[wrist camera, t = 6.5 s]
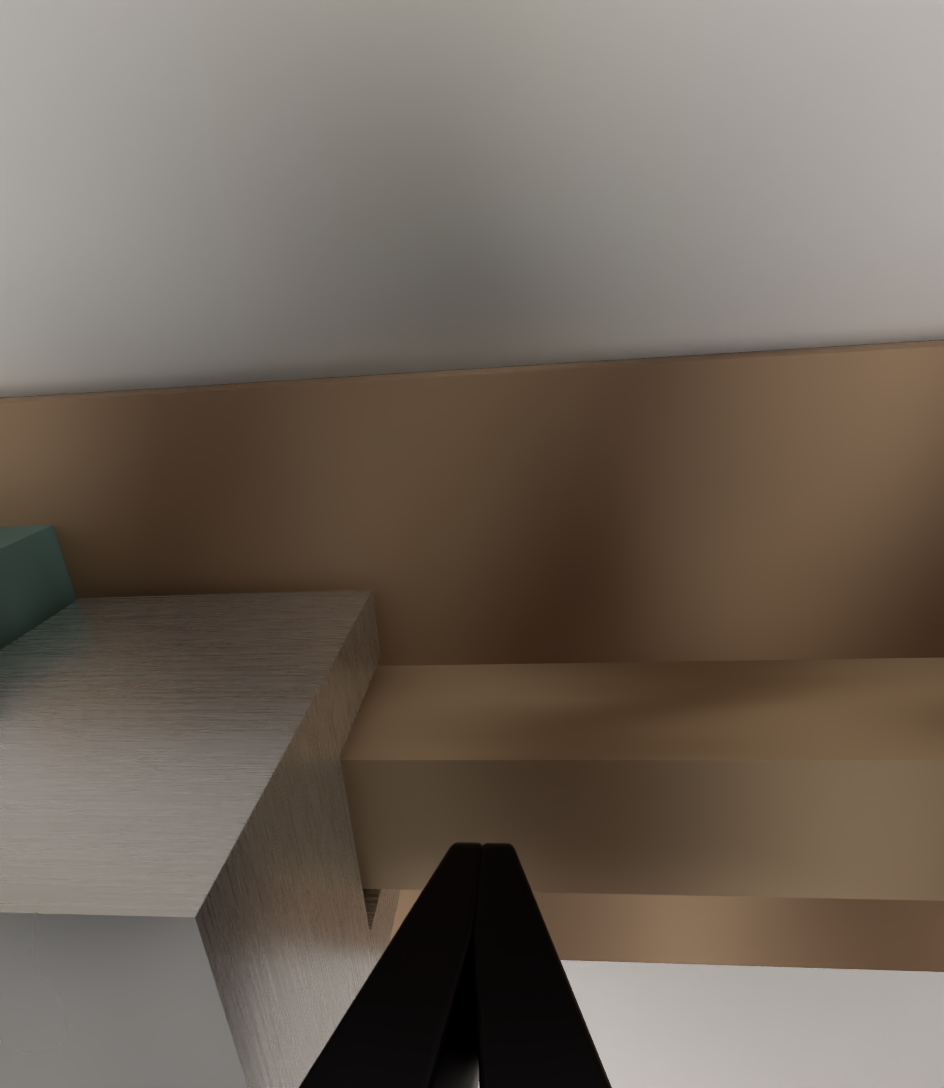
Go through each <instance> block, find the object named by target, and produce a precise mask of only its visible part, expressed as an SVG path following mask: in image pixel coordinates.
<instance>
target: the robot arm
mask: <svg viewBox="0 0 944 1088" xmlns="http://www.w3.org/2000/svg"><path fill="white" fill-rule="evenodd" d="M478 1082H479V1086H480V1088H612V1087H611V1085H610V1082H609V1080H608V1077H607V1075H606V1072H605V1070H604V1067H603V1065H602V1062H601V1060H600V1058H599V1055H598V1053H597V1050H596V1048H595V1045H594V1043H593V1040H592V1038H591V1035H590V1033H589V1030H588V1028H587V1025H586V1023H585V1020H584V1018H583V1015H582V1013H581V1011H580V1008H579V1006H578V1003H577V1001H576V998H575V996H574V993H573V991H572V988H571V986H570V983H569V981H568V978H567V976H566V973H565V971H564V968H563V966H562V964H561V961H560V959H559V956H558V954H557V951H556V949H555V946H554V944H553V941H552V939H551V936H550V934H549V931H548V929H547V926H546V924H545V922H544V919H543V917H542V914H541V912H540V909H539V907H538V904H537V902H536V899H535V897H534V894H533V892H532V889H531V887H530V884H529V882H528V879H527V877H526V875H525V872H524V870H523V867H522V865H521V862H520V860H519V857H518V855H517V852H516V850H515V848H514V846H513V845H512V844H510V843H485V844H483V845H482V844H481V843H474V842H456V843H454V844H452V845H451V846H450V848H449V849H448V851H447V852H446V854H445V855H444V857H443V859H442V860H441V862H440V863H439V865H438V867H437V868H436V870H435V871H434V873H433V874H432V876H431V878H430V879H429V881H428V882H427V884H426V886H425V887H424V889H423V890H422V892H421V894H420V895H419V897H418V898H417V900H416V902H415V903H414V905H413V906H412V908H411V910H410V911H409V913H408V914H407V916H406V917H405V919H404V921H403V922H402V924H401V925H400V927H399V929H398V930H397V932H396V933H395V935H394V937H393V938H392V940H391V941H390V943H389V945H388V946H387V948H386V949H385V951H384V952H383V954H382V956H381V957H380V959H379V960H378V962H377V964H376V965H375V967H374V968H373V970H372V972H371V973H370V975H369V976H368V978H367V980H366V981H365V983H364V984H363V986H362V988H361V989H360V991H359V992H358V994H357V995H356V997H355V999H354V1000H353V1002H352V1003H351V1005H350V1007H349V1008H348V1010H347V1011H346V1013H345V1015H344V1016H343V1018H342V1019H341V1021H340V1023H339V1024H338V1026H337V1027H336V1029H335V1031H334V1032H333V1034H332V1035H331V1037H330V1038H329V1040H328V1042H327V1043H326V1045H325V1046H324V1048H323V1050H322V1051H321V1053H320V1054H319V1056H318V1058H317V1059H316V1061H315V1062H314V1064H313V1066H312V1067H311V1069H310V1070H309V1072H308V1073H307V1075H306V1077H305V1078H304V1080H303V1081H302V1083H301V1085H300V1086H299V1088H478Z"/></svg>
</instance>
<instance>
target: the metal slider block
mask: <svg viewBox="0 0 944 1088" xmlns="http://www.w3.org/2000/svg"><path fill="white" fill-rule="evenodd" d="M380 657H381V649H380V642H379V635H378V627H377V620H376V612H375V605H374V598H373V590H339V591H302V592H266V593H229V594H193V595H156V596H120V597H83V598H80V599H78V600H77V601H75V602H73V603H72V604H70V605H69V606H67V607H66V608H64V609H63V610H61V611H60V612H58V613H57V614H55V615H53V616H52V617H50V618H49V619H47V620H46V621H44V622H43V623H41V624H40V625H38V626H36V627H35V628H33V629H32V630H30V631H29V632H27V633H26V634H24V635H23V636H21V637H20V638H18V639H16V640H15V641H13V642H12V643H10V644H9V645H7V646H6V647H4V648H3V649H1V650H0V1088H299V1086H300V1085H301V1083H302V1081H303V1080H304V1078H305V1077H306V1075H307V1073H308V1072H309V1070H310V1069H311V1067H312V1066H313V1064H314V1062H315V1061H316V1059H317V1058H318V1056H319V1054H320V1053H321V1051H322V1050H323V1048H324V1046H325V1045H326V1043H327V1042H328V1040H329V1038H330V1037H331V1035H332V1034H333V1032H334V1031H335V1029H336V1027H337V1026H338V1024H339V1023H340V1021H341V1019H342V1018H343V1016H344V1015H345V1013H346V1011H347V1010H348V1008H349V1007H350V1005H351V1003H352V1002H353V1000H354V999H355V997H356V995H357V994H358V992H359V991H360V989H361V988H362V986H363V984H364V983H365V981H366V980H367V978H368V976H369V975H370V973H371V972H372V970H373V968H374V967H375V965H376V964H377V962H378V960H379V959H380V957H381V956H382V954H383V952H384V951H385V949H386V948H387V946H388V945H389V943H390V938H391V933H392V928H393V924H394V919H395V914H396V910H397V905H398V900H399V895H400V891H401V890H399V889H362V883H361V877H360V872H359V866H358V860H357V854H356V849H355V843H354V837H353V831H352V826H351V820H350V814H349V808H348V803H347V797H346V791H345V786H344V780H343V774H342V768H341V763H340V757H339V756H340V753H341V751H342V749H343V746H344V744H345V741H346V739H347V737H348V734H349V732H350V729H351V727H352V724H353V722H354V720H355V717H356V715H357V712H358V710H359V707H360V705H361V703H362V700H363V698H364V695H365V693H366V691H367V688H368V686H369V683H370V681H371V678H372V676H373V674H374V671H375V669H376V666H377V664H378V661H379V659H380Z"/></svg>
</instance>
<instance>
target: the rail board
mask: <svg viewBox="0 0 944 1088" xmlns="http://www.w3.org/2000/svg"><path fill="white" fill-rule="evenodd" d="M339 590H373V598H374V605H375V612H376V620H377V627H378V635H379V642H380V649H381V657H380V659H379V661H378V664H377V666H376V669H375V671H374V674H373V676H372V678H371V681H370V683H369V686H368V688H367V691H366V693H365V695H364V698H363V700H362V703H361V705H360V707H359V710H358V712H357V715H356V717H355V720H354V722H353V724H352V727H351V729H350V732H349V734H348V737H347V739H346V741H345V744H344V746H343V749H342V751H341V753H340V756H339V757H340V763H341V768H342V774H343V780H344V786H345V791H346V797H347V803H348V808H349V814H350V820H351V826H352V831H353V837H354V843H355V849H356V854H357V860H358V866H359V872H360V877H361V883H362V889H399V890H401V891H400V895H399V900H398V905H397V910H396V914H395V919H394V924H393V928H392V933H391V938H390V941H391V940H392V938H393V937H394V935H395V933H396V932H397V930H398V929H399V927H400V925H401V924H402V922H403V921H404V919H405V917H406V916H407V914H408V913H409V911H410V910H411V908H412V906H413V905H414V903H415V902H416V900H417V898H418V897H419V895H420V894H421V892H422V890H423V889H424V887H425V886H426V884H427V882H428V881H429V879H430V878H431V876H432V874H433V873H434V871H435V870H436V868H437V867H438V865H439V863H440V862H441V860H442V859H443V857H444V855H445V854H446V852H447V851H448V849H449V848H450V846H451V845H452V844H454V843H456V842H474V843H481V844H482V845H483V844H485V843H510V844H512V845H513V846H514V848H515V850H516V852H517V855H518V857H519V860H520V862H521V865H522V867H523V870H524V872H525V875H526V877H527V879H528V882H529V884H530V887H531V889H532V892H533V894H534V897H535V899H536V902H537V904H538V907H539V909H540V912H541V914H542V917H543V919H544V922H545V924H546V926H547V929H548V931H549V934H550V936H551V939H552V941H553V944H554V946H555V949H556V951H557V954H558V956H559V959H560V960H581V961H613V962H645V963H677V964H709V965H741V966H773V967H805V968H837V969H869V970H901V971H933V972H944V340H935V341H919V342H903V343H886V344H870V345H854V346H838V347H822V348H806V349H789V350H773V351H757V352H741V353H725V354H708V355H692V356H676V357H660V358H644V359H628V360H611V361H595V362H579V363H563V364H547V365H530V366H514V367H498V368H482V369H466V370H450V371H433V372H417V373H401V374H385V375H369V376H352V377H336V378H320V379H304V380H288V381H272V382H255V383H239V384H223V385H207V386H191V387H174V388H158V389H142V390H126V391H110V392H94V393H77V394H61V395H45V396H29V397H13V398H0V650H1V649H3V648H4V647H6V646H7V645H9V644H10V643H12V642H13V641H15V640H16V639H18V638H20V637H21V636H23V635H24V634H26V633H27V632H29V631H30V630H32V629H33V628H35V627H36V626H38V625H40V624H41V623H43V622H44V621H46V620H47V619H49V618H50V617H52V616H53V615H55V614H57V613H58V612H60V611H61V610H63V609H64V608H66V607H67V606H69V605H70V604H72V603H73V602H75V601H77V600H78V599H80V598H83V597H120V596H156V595H193V594H229V593H266V592H302V591H339Z"/></svg>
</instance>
